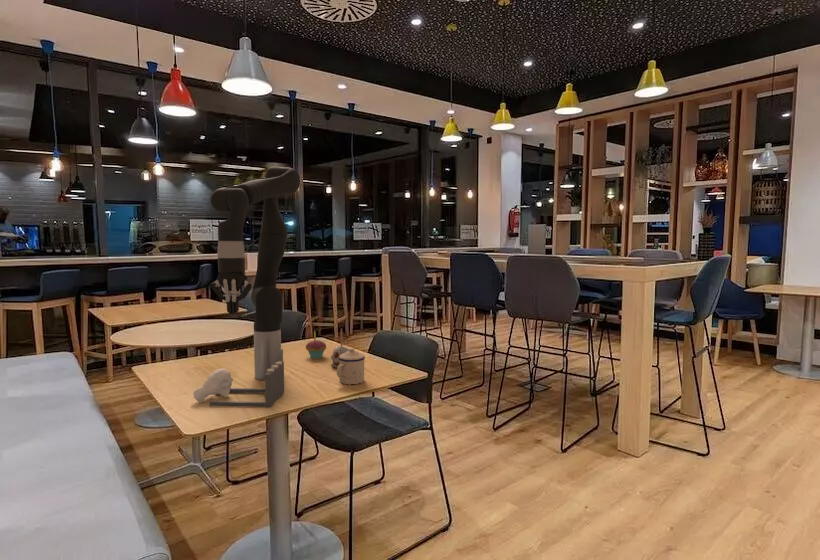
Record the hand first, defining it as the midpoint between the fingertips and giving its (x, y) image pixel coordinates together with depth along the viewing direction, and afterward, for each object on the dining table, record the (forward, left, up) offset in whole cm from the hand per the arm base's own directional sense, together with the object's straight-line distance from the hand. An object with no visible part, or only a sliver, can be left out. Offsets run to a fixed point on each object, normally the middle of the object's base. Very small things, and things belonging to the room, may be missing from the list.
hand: (232, 313), depth 139 cm
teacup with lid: (-32, -20, -27) cm, 47 cm away
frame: (-3, -2, -27) cm, 27 cm away
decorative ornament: (-26, -40, -27) cm, 55 cm away
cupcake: (-13, -53, -27) cm, 61 cm away
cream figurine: (+8, -2, -27) cm, 29 cm away
